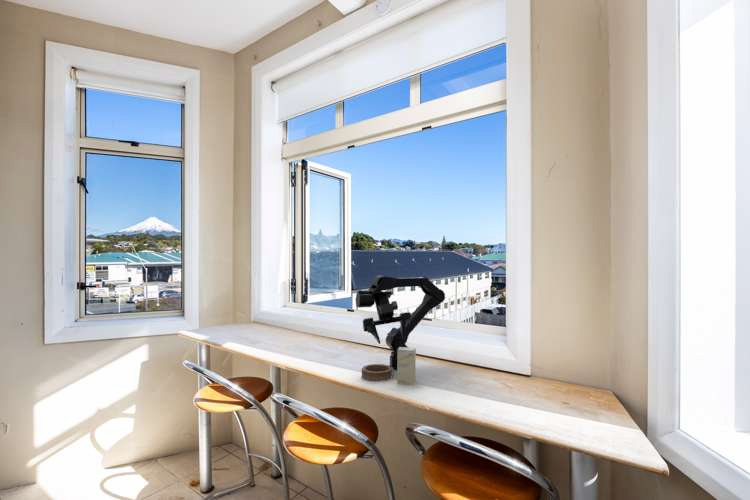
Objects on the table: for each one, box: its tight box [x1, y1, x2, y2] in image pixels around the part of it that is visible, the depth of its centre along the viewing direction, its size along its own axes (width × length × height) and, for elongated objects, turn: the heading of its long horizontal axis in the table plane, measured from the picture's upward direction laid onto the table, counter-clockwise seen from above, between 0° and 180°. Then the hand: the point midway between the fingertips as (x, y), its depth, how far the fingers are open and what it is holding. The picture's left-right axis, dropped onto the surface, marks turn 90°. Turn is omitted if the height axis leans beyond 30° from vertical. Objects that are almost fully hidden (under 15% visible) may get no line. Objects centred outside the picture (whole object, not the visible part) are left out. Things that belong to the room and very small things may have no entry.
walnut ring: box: [361, 363, 393, 382], centre depth 139 cm, size 11×11×3 cm
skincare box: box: [396, 346, 417, 386], centre depth 132 cm, size 6×4×12 cm
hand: (391, 341), depth 137 cm, fingers open, 9 cm apart
